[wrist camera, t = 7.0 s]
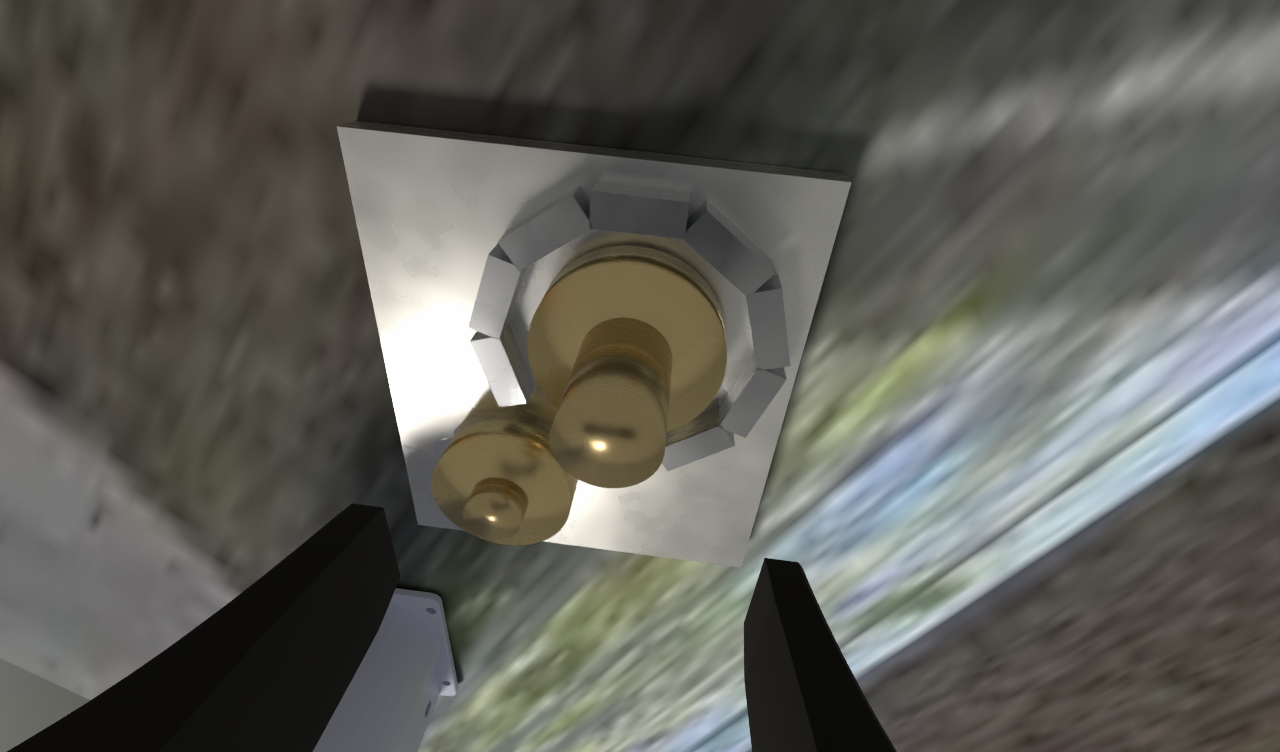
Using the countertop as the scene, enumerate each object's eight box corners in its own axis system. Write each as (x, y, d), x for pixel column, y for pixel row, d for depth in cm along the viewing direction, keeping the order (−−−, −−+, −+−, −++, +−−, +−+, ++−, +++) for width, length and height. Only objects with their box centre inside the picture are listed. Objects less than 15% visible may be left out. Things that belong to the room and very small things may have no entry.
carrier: (740, 548, 25) (745, 633, 21) (427, 507, 25) (385, 584, 22) (843, 173, 16) (881, 217, 12) (355, 120, 16) (265, 150, 13)
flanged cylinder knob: (681, 431, 20) (675, 556, 15) (520, 375, 19) (464, 488, 15) (758, 288, 17) (779, 393, 12) (568, 214, 16) (514, 296, 11)
